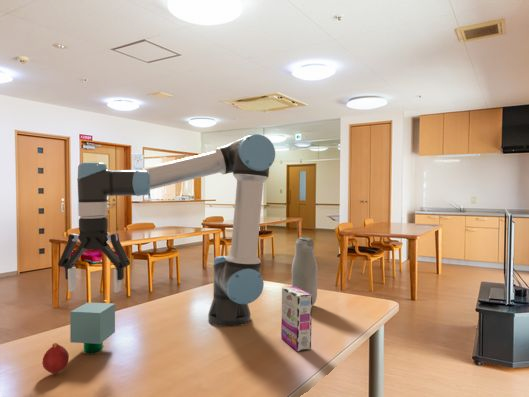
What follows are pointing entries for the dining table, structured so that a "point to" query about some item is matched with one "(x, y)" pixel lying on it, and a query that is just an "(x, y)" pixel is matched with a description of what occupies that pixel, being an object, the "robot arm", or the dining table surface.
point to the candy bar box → (296, 318)
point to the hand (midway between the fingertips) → (94, 290)
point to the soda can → (92, 348)
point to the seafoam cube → (92, 323)
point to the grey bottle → (305, 267)
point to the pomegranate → (55, 359)
